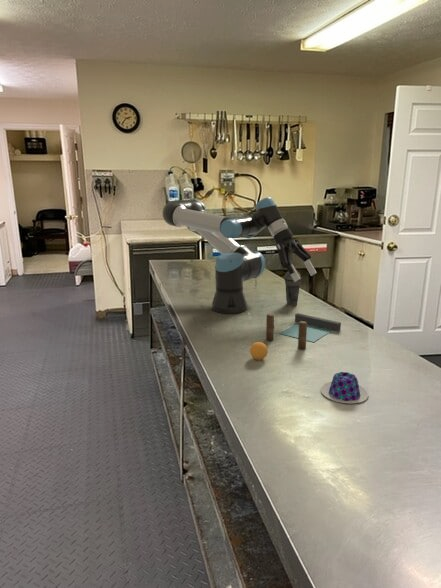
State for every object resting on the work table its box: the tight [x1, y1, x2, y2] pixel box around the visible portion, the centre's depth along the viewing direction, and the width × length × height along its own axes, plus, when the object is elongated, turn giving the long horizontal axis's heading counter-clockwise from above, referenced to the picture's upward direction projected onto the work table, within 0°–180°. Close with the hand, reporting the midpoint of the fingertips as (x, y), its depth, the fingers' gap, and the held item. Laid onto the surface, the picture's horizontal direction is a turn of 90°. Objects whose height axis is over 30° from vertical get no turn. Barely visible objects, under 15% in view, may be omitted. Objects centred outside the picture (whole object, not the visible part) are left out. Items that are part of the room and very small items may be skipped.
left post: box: [265, 313, 275, 342], centre depth 150 cm, size 3×3×9 cm
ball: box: [249, 341, 269, 361], centre depth 134 cm, size 6×6×6 cm
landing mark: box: [278, 322, 332, 343], centre depth 157 cm, size 14×14×1 cm
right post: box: [297, 321, 307, 351], centre depth 142 cm, size 3×3×9 cm
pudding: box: [320, 371, 369, 404], centre depth 113 cm, size 12×12×5 cm
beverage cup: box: [284, 261, 302, 307], centre depth 189 cm, size 7×7×20 cm
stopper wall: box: [294, 313, 342, 333], centre depth 164 cm, size 18×2×3 cm, turn 51°
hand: (306, 277), depth 174 cm, fingers open, 13 cm apart
